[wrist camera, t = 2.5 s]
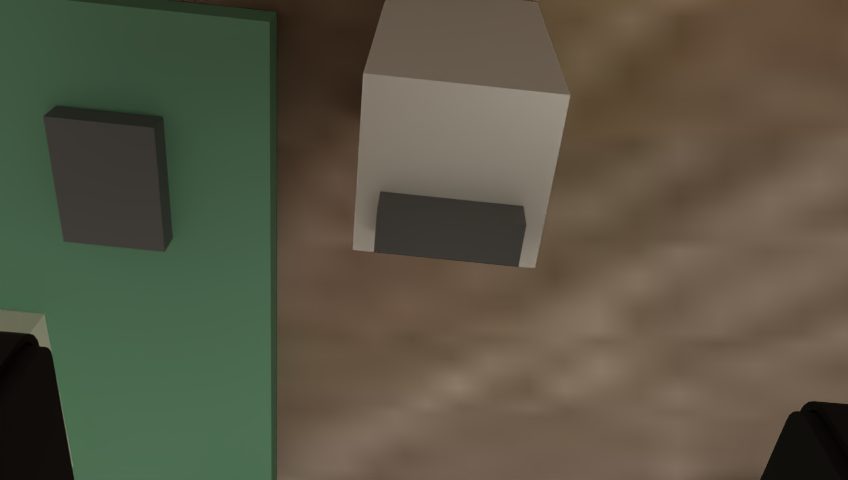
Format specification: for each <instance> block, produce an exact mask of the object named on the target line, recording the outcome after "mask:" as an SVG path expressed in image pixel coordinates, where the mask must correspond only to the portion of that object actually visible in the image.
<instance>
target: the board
mask: <svg viewBox="0 0 848 480" xmlns="http://www.w3.org/2000/svg"><path fill="white" fill-rule="evenodd" d="M0 331H5V332H17V333H28V334H32V335H34V336H35V337H36V338H37V340H38V343H39V346H41V347H47V348H49V349H50V351H51V353H52V356H53V362H54V367H55V373H56V379H57V384H58V390H59V396H60V401H61V407H62V413H63V418H64V424H65V430H66V435H67V441H68V447H69V452H70V458H71V464H72V469H73V475H74V480H277V12H274V11H264V10H255V9H246V8H236V7H227V6H218V5H208V4H199V3H190V2H181V1H171V0H0Z"/></svg>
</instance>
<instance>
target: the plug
mask: <svg viewBox="0 0 848 480" xmlns="http://www.w3.org/2000/svg"><path fill="white" fill-rule="evenodd" d="M569 100H570V93H569V90H568V87H567V84H566V81H565V79H564V76H563V73H562V70H561V67H560V64H559V62H558V59H557V56H556V53H555V50H554V48H553V45H552V42H551V39H550V36H549V33H548V31H547V28H546V25H545V22H544V19H543V17H542V14H541V11H540V8H539V5H538V3H537V2H532V1H523V0H385V2H384V5H383V9H382V12H381V15H380V19H379V22H378V25H377V29H376V32H375V35H374V39H373V42H372V45H371V49H370V52H369V55H368V59H367V62H366V65H365V69H364V72H363V85H362V101H361V118H360V135H359V151H358V168H357V185H356V201H355V218H354V235H353V250H359V251H369V252H376V253H386V254H396V255H406V256H416V257H426V258H436V259H446V260H456V261H466V262H476V263H485V264H495V265H505V266H515V267H528V268H535V265H536V260H537V255H538V250H539V246H540V241H541V236H542V231H543V226H544V221H545V216H546V212H547V207H548V202H549V197H550V192H551V187H552V182H553V177H554V173H555V168H556V163H557V158H558V153H559V148H560V143H561V139H562V134H563V129H564V124H565V119H566V114H567V109H568V104H569Z"/></svg>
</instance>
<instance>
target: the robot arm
mask: <svg viewBox="0 0 848 480" xmlns="http://www.w3.org/2000/svg"><path fill="white" fill-rule="evenodd" d="M0 480H74V475H73V469H72V464H71V458H70V452H69V447H68V441H67V435H66V430H65V424H64V418H63V413H62V407H61V401H60V396H59V390H58V384H57V379H56V373H55V367H54V362H53V356H52V353H51V351H50V349H49V348H47V347H41V346H39V343H38V340H37V338H36V337H35V336H34V335H32V334H28V333H17V332H5V331H0ZM760 480H848V404H839V403H828V402H816V401H813V402H808V403H806V404H805V405H804V406H803V407H802V409H801V411H800V412H799V411H796V412H793V413H791V414H790V415H789V417H788V419H787V420H786V423H785V425H784V427H783V430H782V432H781V434H780V436H779V439H778V441H777V443H776V445H775V448H774V450H773V452H772V454H771V457H770V459H769V461H768V464H767V466H766V468H765V470H764V473H763V475H762V477H761V479H760Z"/></svg>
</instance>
